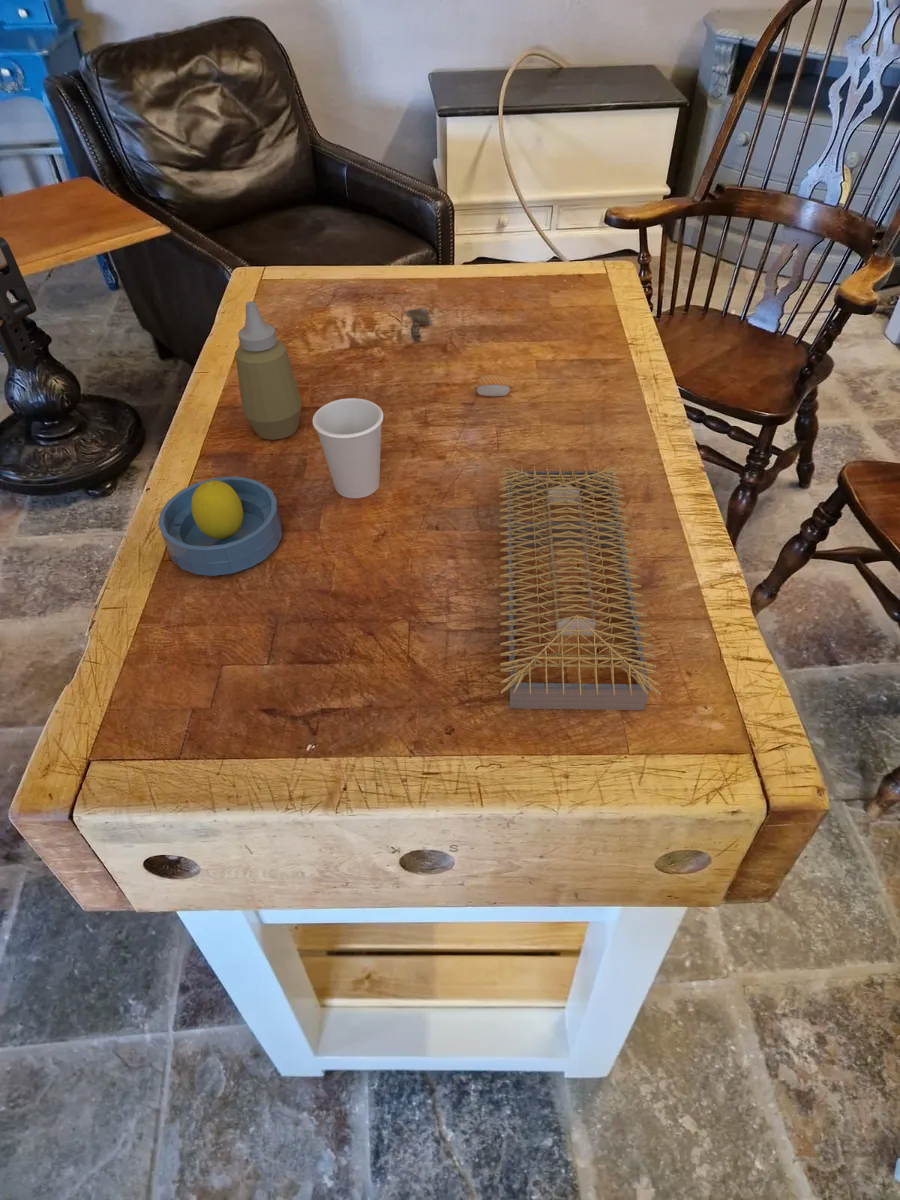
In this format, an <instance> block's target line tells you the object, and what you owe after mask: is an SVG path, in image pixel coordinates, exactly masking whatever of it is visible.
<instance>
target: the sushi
mask: <svg viewBox="0 0 900 1200" xmlns="http://www.w3.org/2000/svg"><path fill="white" fill-rule="evenodd" d="M511 388H512V389H513V388H515V384H514V382H513V380H512V379H511V378H509V377H508V376H505V375H502V374H495V373H493V374H492V373H491V374H484V375H481V376H479V378H478V379H477V380H476V382H474V383H473V384H472V385H470V386H469V389H470V390H473V389H475V390H476V393H477V394H478V395H479V396H482V397H505V396H507V395H509V393H510V391H511Z"/></svg>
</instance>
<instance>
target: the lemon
mask: <svg viewBox="0 0 900 1200" xmlns="http://www.w3.org/2000/svg"><path fill="white" fill-rule="evenodd" d="M191 508H192V515H193V518H194V520H195V523H196V525H197V526H198V528H199V529H200V530H201V531H202V532H203V533H204V534H205V535H207V536H209V537H211V538H215V539H226V538H228V537H231V536H232V535H234V534H235V533H236V532H237V531H238V530H239V528H240V527H241V525H242V521H243V508H242V504H241V501H240V499H239V497H238V495H237V494H236V492H235V491H234V489H233V488H232V487H231V486H229V485H228V484H226V483H224V482H221V481H207V482H205V483H203V484H201V485H200V486H199V487H198V488H197V489H196V490H195V492H194V494H193V496H192V505H191Z"/></svg>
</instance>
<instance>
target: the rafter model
mask: <svg viewBox="0 0 900 1200" xmlns="http://www.w3.org/2000/svg"><path fill="white" fill-rule="evenodd" d="M499 468H500V469H501V470H500V471H499V474H501V475H505V476H504V477H501V478H499V485H506V486H503V487H500V488H499V491H505V492H506V493H503V494H500V495H499V498H506V500H503V501H500V502H499V505H506V507H504V508H501V509H499V512H500V513H501V512H502V513H506V515H504V516H500V517H499V520H506V522H505V523H503V524H499V528H506V531H502V532H499V535H500V536H506V539H502V540H499V543H500V544H506V547H504V548H500V549H499V552H506V556H502V557H500V558H499V561H506V562H507V564H504V565H501V566H499V569H502V570H506V569H507V573H505V574H500V575H499V578H507V582H503V583H500V584H499V588H500V587H501V588H503V587H505V588H506V587H507V591H506V592H502V593H500V594H499V596H500V597H507V601H504V602H500V604H499V606H507V610H506V611H503V612H500V613H499V614H500V616H507V621H503V622H500V623H499V625H500V626H507V627H508V630H507V631H504V632H500V633H499V636H508V637H507V638H508V641H504V642H500V646H508V651H505V652H501V653H500V656H502V657H503V656H505V657H507V656H508V661H506V662H501V663H500V667H505V668H501V669H500V672H508V676H507V678H505V679H503V680H502V681H500V684H501V685H502V684H505V683H508V684H507V685H506V686H505V687H504V688H503V689H502V690H501V691H500V695H502V694H503V693H504V692H506V691H507V690H508V693H509V694H508V695H509V696H508V697H509V700H508V701H509V709H532V710H535V709H536V710H537V709H538V710H541V709H542V710H597V711H599V710H601V711H602V710H603V711H605V710H607V711H608V710H609V711H617V710H618V711H645V710H646V705H647V701H648V698H649V693H650V690H651V691H652V692H654V693H655V694H657V695H658V696H660V697H661V696H662V693H661V692H660V691H659V690H658V689H657V688H656V687H655V686H658V687H659V686H660V683H659V682H658V681H656V680H654V679H652V678H650V677H649V676H648V674H658V671H657V670H655V669H656V668H657V664H654V663H649V662H646V659H645V658H655V655H654V654H651V653H647V652H644V648H652V647H653V644H651V643H646V642H643V641H642V638H651V634H649V633H646V632H642V631H641V630H640V627H649V624H648V623H644V622H641V621H639V618H638V617H647V614H646V613H643V612H640V611H637V607H644V608H645V607H646V606H645V605H646V604H645V603H641V602H638V601H635V598H643V597H644V594H642V593H638V592H634V590H633V588H640V589H641V588H642V585H641V584H637V583H634V582H632V579H640V576H639V575H636V574H632V573H630V570H638V569H639V567H638V566H634V565H631V564H629V561H631V562H635V561H637V558H636V557H632V556H628V555H627V553H635V549H632V548H629V547H626V545H627V544H628V545H633V544H634V541H631V540H629V539H625V538H624V536H629V537H630V536H632V535H633V534H632V533H631V532H628V531H624V530H623V528H631V525H629V524H626V523H624V522H622V521H623V520H625V521H629V517H627V516H625V515H622V514H621V515H620V513H628V509H625V508H622V507H619V505H626V504H627V502H625V501H623V500H618V498H625V494H621V493H618V492H619V491H622V492H623V491H624V488H623V487H619V486H616V485H622V484H623V481H622V477H621V478H620V477H617V476H615V475H618V474H621V471H620V470H618V469H619V468H620V465H617V466H614V467H610V465H607V467H605V469H603V470H601V471H600V469H599V467H598V465H596V466H595V468H596V471H592V470H591V471H589V470H588V471H587V469H586V467H585V465H583V470H582V471H581V470H580V471H579V470H578V471H577V470H576V471H574V468H573V465H570V470H571V471H569V470H568V471H567V470H566V471H562V470H561V467H560V465H558V471H555V470H554V471H549V469H548V465H546V466H545V470H546V471H544V470H543V471H539V470H538V471H536V467H535V466H533V471H530V470H529V471H528V470H527V471H523V465H520V470H518V469H516V468H515V467H513V466H512V465H508V467H506V466H502V465H499ZM616 491H617V492H616ZM522 498H531V500H530V501H529V500H525V499H524V500H523V499H522ZM534 498H536V499H534ZM591 498H592V499H591ZM595 498H604V499H603V500H595ZM545 499H546V500H545ZM515 501H518V502H515ZM538 501H541V502H538ZM584 501H590V502H584ZM511 505H512V506H511ZM524 505H532V508H527V507H522V506H524ZM534 505H537V506H534ZM591 505H593V506H591ZM596 505H603V506H605V507H601V508H597V507H596ZM551 506H563V507H561V508H557V509H551ZM568 506H569V507H568ZM570 506H577V509H576V508H572V507H570ZM516 508H517V509H516ZM541 508H542V509H541ZM586 508H589V509H586ZM523 513H532V515H531V516H529V515H524V514H523ZM535 513H538V514H535ZM592 513H594V514H592ZM597 513H606V514H605V515H600V516H599V515H597ZM551 514H564V515H561V516H557V517H552V516H551ZM569 514H570V515H569ZM571 514H578V517H577V516H574V515H571ZM546 515H547V516H546ZM516 516H519V517H516ZM540 516H543V517H540ZM586 516H590V517H586ZM512 520H513V521H512ZM526 520H532V521H526ZM535 520H537V521H535ZM594 520H595V522H594ZM598 520H600V522H599V521H598ZM601 520H602V521H601ZM605 521H606V522H605ZM555 547H556V548H558V547H559V548H566V549H554V548H555ZM516 548H519V549H516ZM575 548H582V549H575ZM591 548H592V549H591ZM513 552H516V553H513ZM530 552H532V553H533V552H534V557H533V556H528V555H523V554H526V553H530ZM545 552H546V553H547V552H550V553H547V554H545ZM537 553H539V554H541V555H539V556H537ZM598 553H600V555H596V554H598ZM602 553H609V554H613V555H610V556H606V557H605V556H604V557H603V556H602ZM556 555H579V556H580V555H581V556H582V555H583V558H577V557H572V556H570V557H566V558H565V557H564V558H563V557H562V558H560V557H559V558H558V557H557V558H555V556H556ZM591 557H594V558H591ZM513 561H516V562H513ZM529 561H535V565H530V564H524V563H525V562H529ZM538 561H539V562H540V563H542V564H539V565H537V564H538ZM544 561H551V562H544ZM590 561H594V562H590ZM600 561H601V563H600V564H597V563H598V562H600ZM604 561H607V562H612V563H614V564H610V565H605V566H604ZM556 564H584V566H574V565H573V566H572V565H571V566H566V567H565V566H555V565H556ZM517 565H519V566H517ZM516 569H517V570H516ZM518 569H519V570H518ZM513 570H515V571H513ZM530 570H535V574H530V573H525V572H526V571H530ZM538 570H540V571H541V572H543V573H540V574H538ZM545 570H551V571H545ZM591 570H596V571H591ZM601 570H602V573H598V572H599V571H601ZM605 570H609V571H613V572H617V573H612V574H607V575H605ZM557 573H577V574H579V573H581V574H582V573H583V574H584V573H585V575H556V574H557ZM517 574H520V575H517ZM515 578H516V580H513V579H515ZM517 578H520V579H517ZM535 578H536V583H531V582H525V581H527V580H530V579H535ZM539 579H540V580H541V581H543V582H542V583H538V582H539ZM546 579H552V580H550V581H547V580H546ZM591 579H597V580H595V581H594V580H591ZM606 579H609V580H613V581H617V582H613V583H608V584H606ZM601 580H603V583H602V582H599V581H601ZM560 582H561V583H586V585H585V584H582V585H581V584H557V583H560ZM517 583H519V584H517ZM520 583H521V584H520ZM515 587H516V588H518V587H519V588H518V589H514V588H515ZM532 588H536V593H535V592H531V591H530V592H529V591H524V590H528V589H532ZM546 588H553V589H552V590H548V589H546ZM572 588H577V589H572ZM592 588H598V589H597V590H593V589H592ZM608 588H610V589H614V590H617V591H618V592H612V593H611V592H610V593H607V591H608ZM539 589H542V590H543V591H544V592H541V593H539ZM603 589H605V590H604V592H601V590H603ZM559 592H587V594H566V593H565V594H564V593H563V594H562V593H561V594H559ZM514 597H520V598H516V599H514ZM534 597H537V601H536V602H532V601H528V599H531V598H534ZM546 597H553V599H552V600H549V599H547V598H546ZM558 597H560V598H558ZM593 597H596V598H598V597H599V598H598V599H597V600H596V599H593ZM609 597H610V598H614V599H617V600H621V601H617V602H611V603H609ZM540 598H541V599H544V600H545V601H544V602H540ZM571 598H578V599H571ZM526 599H527V601H526ZM604 599H606V602H603V601H602V600H604ZM517 602H518V603H517ZM519 602H521V603H519ZM558 602H588V603H558ZM596 603H597V604H596ZM514 606H523V607H519V608H515V609H514ZM534 607H537V612H534V611H529V610H526V609H530V608H534ZM540 607H541V608H542V609H544V610H545V612H541V613H540ZM547 607H554V609H553V610H550V609H548V608H547ZM559 607H561V608H559ZM594 607H602V608H600V609H597V610H596V609H594ZM572 608H580V609H572ZM606 608H608V609H607V612H604V611H603V610H604V609H606ZM610 608H615V609H619V610H622V611H617V612H611V613H610ZM519 612H520V613H519ZM522 612H523V613H522ZM559 612H589V613H559ZM514 616H524V617H520V618H515V619H514ZM545 616H549V617H550V616H552V617H553V616H555V618H554V619H555V620H551V619H549V618H547V617H545ZM559 616H560V617H561V616H562V617H563V618H559ZM565 616H566V617H565ZM535 617H538V619H537V620H538V621H537V622H534V621H529V620H526V619H531V618H535ZM589 617H590V618H589ZM595 617H603V618H602V619H600V620H597V619H596V618H595ZM612 617H613V618H616V619H621V620H624V621H619V622H618V621H617V622H614V623H613V622H612V623H611V621H612ZM541 618H543V619H545V620H546V621H547V622H543V623H540V619H541ZM608 618H609V620H608V622H604V620H606V619H608ZM518 622H519V623H518ZM521 622H522V623H521ZM523 622H524V623H523ZM515 626H525V627H521V628H516V629H515V628H514V627H515ZM545 626H550V627H551V626H553V627H554V626H555V627H556V629H555V630H551V629H549V628H547V627H545ZM536 627H538V632H534V631H528V629H532V628H536ZM596 627H605V628H603V629H601V630H598V629H596ZM541 628H543V629H545V630H546V631H547V632H542V633H541ZM614 628H617V629H620V630H624V631H622V632H615V633H613V629H614ZM608 629H610V632H609V633H608V632H605V631H606V630H608ZM519 632H521V633H519ZM515 636H517V637H518V636H524V637H522V638H518V639H515ZM536 637H539V643H538V642H533V641H527V640H529V639H532V638H533V639H534V638H536ZM548 637H554V638H553V639H552V640H551V639H550V638H548ZM560 637H561V638H560ZM563 637H565V639H563ZM572 637H577V643H564V642H566V641H567V640H569V639H570V638H572ZM579 637H583V639H585V640H586V641H587V642H588V643H580V638H579ZM587 637H593V642H592V641H591V640H590V639H588V638H587ZM603 637H607V638H604V639H603ZM627 637H628V638H627ZM542 638H544V639H545V640H547V641H549V642H545V643H542ZM596 638H598V639H599V640H601V641H599V642H598V641H597V642H596ZM611 638H612V639H611ZM615 638H618V639H622V640H625V642H619V643H614V641H615ZM556 639H557V642H555V641H556ZM560 639H561V641H560ZM609 639H610V640H611V643H609V642H607V640H609ZM519 642H521V643H519ZM515 646H516V647H517V646H518V647H519V646H527V647H523V648H519V649H515ZM540 647H544V648H543V649H542V650H541V651H540V652H537V651H531V650H530V649H534V648H540ZM551 647H558V651H557V652H556V651H555V650H554V649H553V648H551ZM564 647H570V648H568V649H567V650H566V649H565V650H564ZM585 647H594V653H593V652H592V651H590V650H588V649H587V648H585ZM598 647H604V648H603V649H602V650H600V651H599V652H597V651H598ZM614 647H615V648H618V649H622V650H626V651H624V652H617V651H616V650H615V649H614ZM547 648H548V649H549V650H550V651H551V652H553V653H554V654H553V653H552V654H549V653H548V654H547ZM575 648H577V653H578V654H565V653H567V652H569V651H571V650H574V649H575ZM580 648H581V649H582V650H584V651H585V652H587V653H588V654H580ZM608 649H609V650H608ZM606 650H608V654H601V653H603V652H604V651H606ZM520 652H525V653H520ZM625 654H626V655H625ZM628 654H629V655H628ZM515 657H523V658H518V659H515ZM529 660H531V661H530V662H529ZM541 660H544V662H542V661H541ZM555 660H558V662H557V661H555ZM564 660H567V661H565V662H564ZM588 660H589V661H588ZM591 660H592V661H593V660H594V662H591ZM548 661H549V662H551V663H548ZM599 661H601V662H600V663H599ZM614 661H616V662H614ZM628 661H629V662H628ZM536 662H537V663H536ZM574 662H577V664H575V663H574ZM581 662H584V663H586V664H581ZM608 662H610V664H606V663H608ZM571 663H574V664H571ZM620 663H621V664H620ZM537 667H539V668H540V667H541V668H542V667H544V673H545V682H531V681H532V680H531V679H532V678H531V672H532V671H533V670H534V669H535V668H537ZM548 667H551V668H552V667H553V668H560V669H561V670H560V671H561V682H559V683H558V682H557V683H555V682H548ZM564 668H577V676H578V683H568V682H567V683H566V682H565V678H564V677H565V676H564V675H565V674H564ZM581 668H593V673H594V682H595V683H581V680H582V679H581ZM597 668H609V671H610V676H611V677H610V678H611V683H598V672H597V671H598V669H597ZM614 668H618V669H621V670H623V671H624V672H625V673H626V674H627V682H628V683H615V675H614V674H615V673H614ZM527 675H528V682H522V681H523V679H524V678H525V676H527ZM631 677H632V678H633V679H634V681H635V684H634V683H632V679H631ZM654 685H655V686H654Z"/></svg>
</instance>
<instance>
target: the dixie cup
mask: <svg viewBox="0 0 900 1200" xmlns="http://www.w3.org/2000/svg"><path fill="white" fill-rule="evenodd" d="M383 421H384V412H383V409H382V408H381V406H379V405H377V404H376V403H375V402H373V401H370V400H367V399H364V398H358V397H357V398H356V397H351V398H341V399H336V400H333V401H330V402H327V403H326V404H324V405H322V406H321V407H320V408H319V409H317V410H316V412H315V413H314V414H313V417H312V426H313V428H314V430H316V432H317V436H318V439H319V442H320V445H321V448H322V451H323V454H324V457H325V461H326V464H327V467H328V470H329V473H330V476H331V479H332V483H333V486H334V489H335V491H336V493H337V494H338V495H340V496H342V497H344V498H348V499H361V498H366V497H368V496H371V495H373V494H374V493H375V492H377V490H378V489H379V487H380V479H381V450H382V449H381V448H382V423H383Z"/></svg>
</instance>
